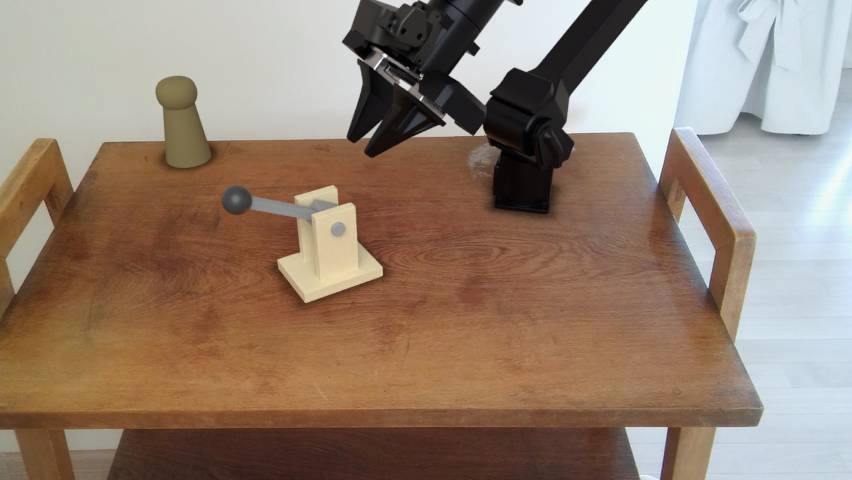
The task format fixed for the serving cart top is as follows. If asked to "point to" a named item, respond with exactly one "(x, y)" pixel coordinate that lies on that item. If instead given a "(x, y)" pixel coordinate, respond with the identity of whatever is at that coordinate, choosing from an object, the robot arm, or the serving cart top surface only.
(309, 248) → the switch bracket
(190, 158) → the olive pawn
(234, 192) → the switch lever
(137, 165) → the serving cart top surface
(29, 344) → the serving cart top surface
